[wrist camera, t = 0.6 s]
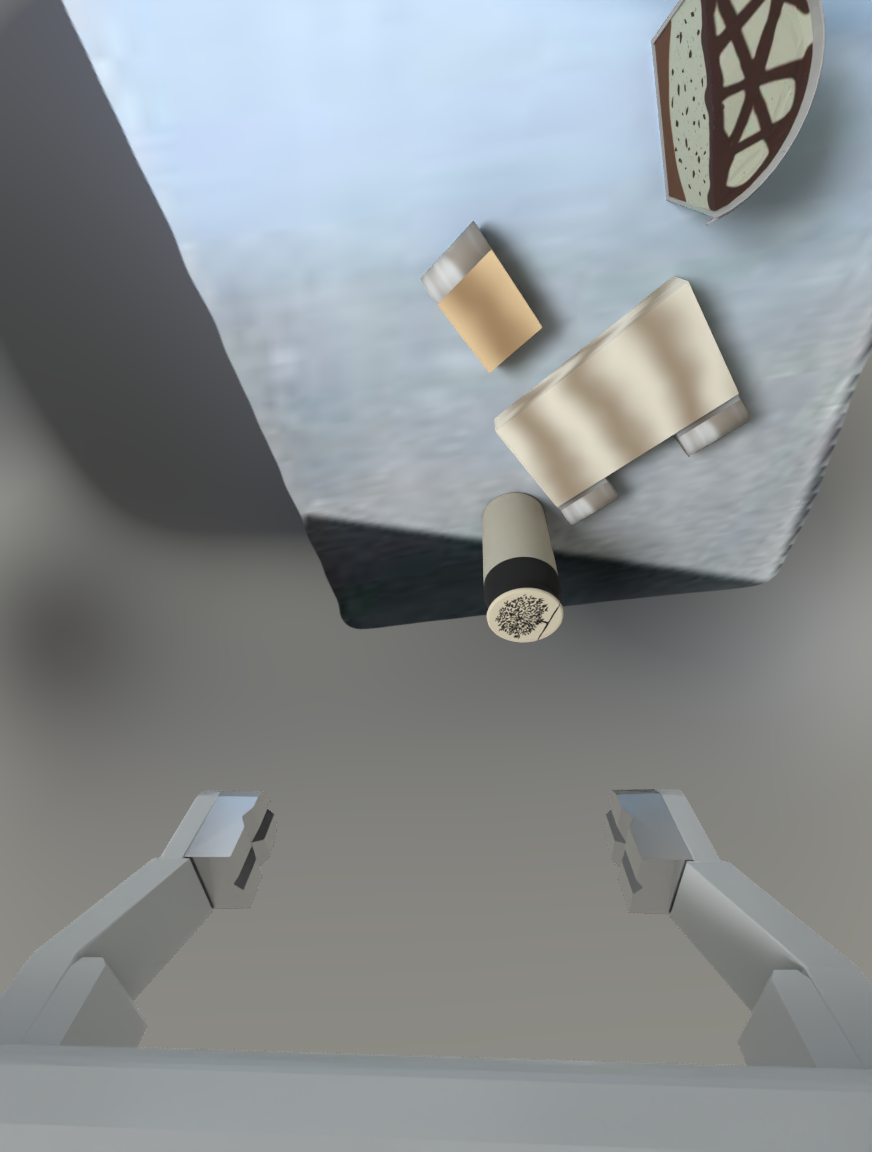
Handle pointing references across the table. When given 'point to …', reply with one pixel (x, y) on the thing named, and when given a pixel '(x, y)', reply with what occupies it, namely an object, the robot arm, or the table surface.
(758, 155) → the food container
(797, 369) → the table surface
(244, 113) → the table surface
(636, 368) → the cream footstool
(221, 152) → the table surface
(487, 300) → the tan rectangular block
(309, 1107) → the robot arm
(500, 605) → the travel mug
